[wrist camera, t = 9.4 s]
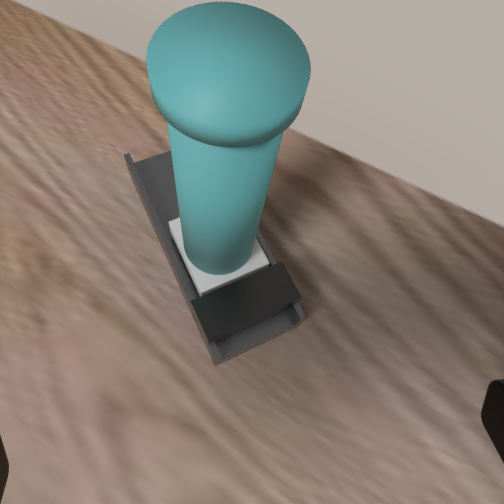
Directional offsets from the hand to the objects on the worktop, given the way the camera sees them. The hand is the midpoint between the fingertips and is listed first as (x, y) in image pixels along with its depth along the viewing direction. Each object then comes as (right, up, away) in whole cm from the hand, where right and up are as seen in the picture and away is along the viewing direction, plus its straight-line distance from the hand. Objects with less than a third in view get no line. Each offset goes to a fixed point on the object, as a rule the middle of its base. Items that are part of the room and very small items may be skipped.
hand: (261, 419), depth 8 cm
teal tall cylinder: (-2, +3, +14) cm, 15 cm away
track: (-3, +3, +16) cm, 16 cm away
